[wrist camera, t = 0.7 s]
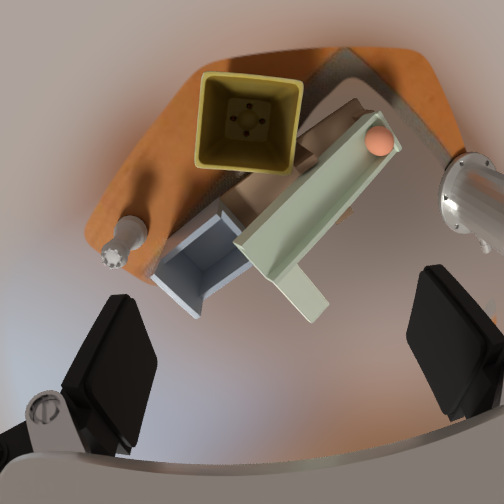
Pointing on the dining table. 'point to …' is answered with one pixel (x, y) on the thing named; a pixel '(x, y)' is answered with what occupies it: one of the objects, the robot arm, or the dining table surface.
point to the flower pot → (247, 122)
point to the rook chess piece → (124, 241)
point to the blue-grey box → (201, 257)
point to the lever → (312, 213)
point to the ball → (379, 140)
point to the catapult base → (306, 155)
